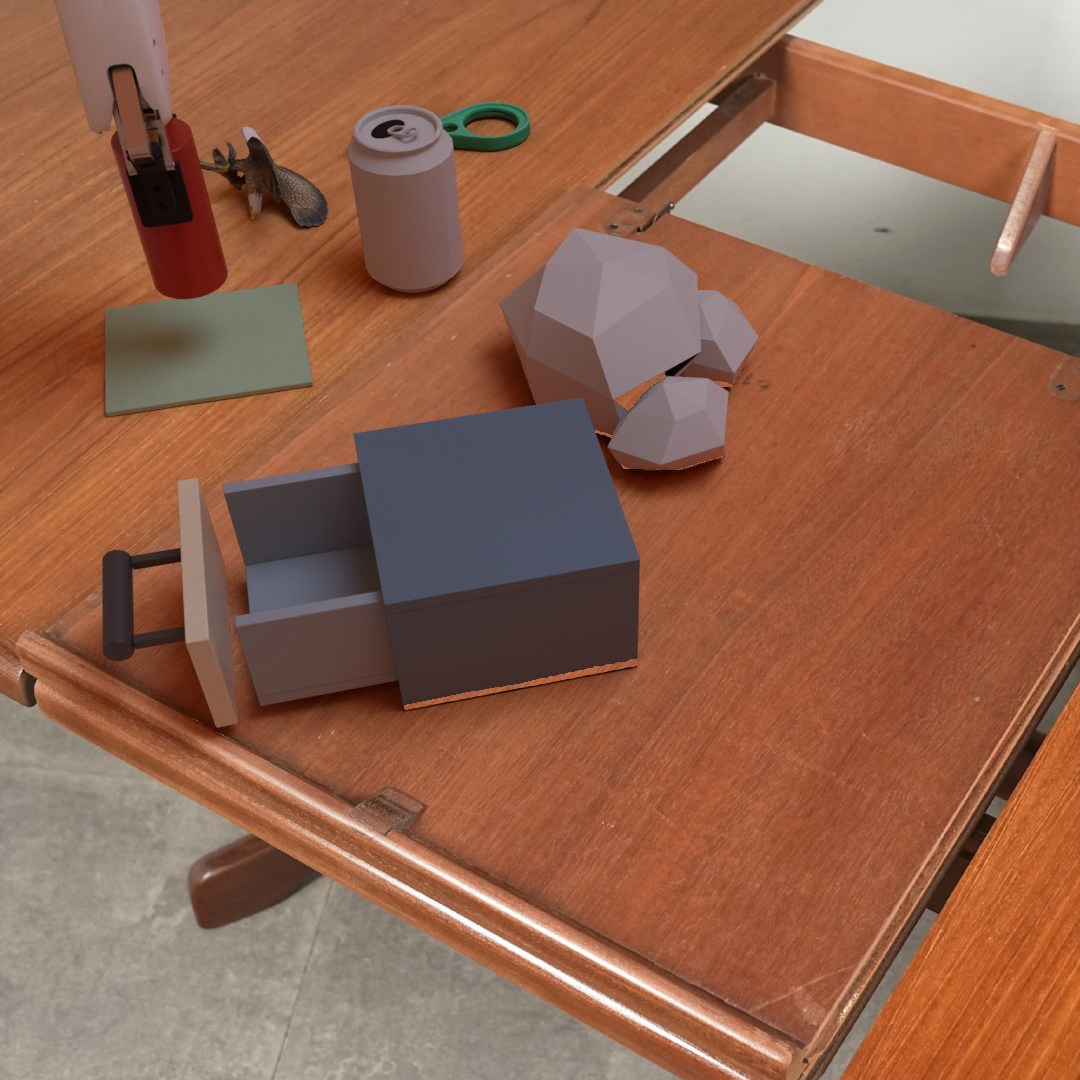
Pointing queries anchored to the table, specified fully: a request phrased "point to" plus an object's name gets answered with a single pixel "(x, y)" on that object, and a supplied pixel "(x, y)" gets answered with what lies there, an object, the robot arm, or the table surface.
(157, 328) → the mat
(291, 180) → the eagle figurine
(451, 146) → the can
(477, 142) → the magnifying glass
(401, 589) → the cabinet
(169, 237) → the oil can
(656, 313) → the rock
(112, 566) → the drawer
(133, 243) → the table surface
